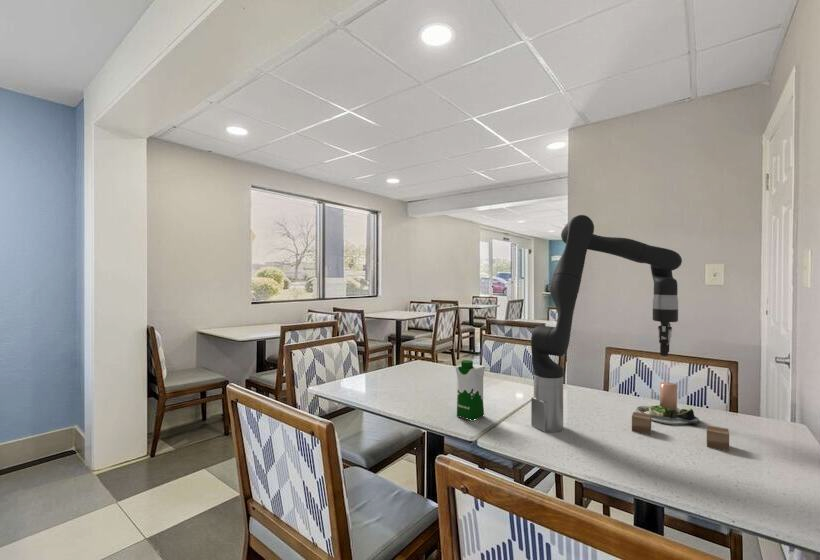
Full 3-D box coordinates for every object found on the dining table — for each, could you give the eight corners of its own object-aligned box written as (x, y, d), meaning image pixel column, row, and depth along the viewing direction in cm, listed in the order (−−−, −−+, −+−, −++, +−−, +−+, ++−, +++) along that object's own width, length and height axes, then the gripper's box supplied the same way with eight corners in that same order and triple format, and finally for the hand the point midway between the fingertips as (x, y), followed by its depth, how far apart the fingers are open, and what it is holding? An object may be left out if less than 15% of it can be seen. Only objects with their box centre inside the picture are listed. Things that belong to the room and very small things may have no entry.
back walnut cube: (650, 435, 122) (650, 419, 122) (631, 431, 125) (631, 416, 125) (651, 430, 126) (651, 414, 126) (633, 426, 129) (633, 411, 129)
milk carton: (453, 416, 138) (452, 360, 138) (467, 410, 145) (467, 356, 145) (473, 423, 132) (473, 364, 132) (488, 415, 139) (487, 360, 139)
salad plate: (651, 428, 128) (651, 414, 128) (622, 409, 146) (622, 397, 146) (710, 428, 128) (710, 414, 128) (674, 409, 146) (674, 397, 146)
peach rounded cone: (670, 409, 134) (670, 386, 134) (656, 405, 139) (656, 382, 139) (680, 407, 136) (680, 385, 136) (666, 403, 141) (666, 381, 141)
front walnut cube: (729, 451, 110) (729, 434, 110) (707, 447, 113) (707, 430, 113) (727, 445, 114) (727, 428, 114) (706, 441, 117) (706, 425, 117)
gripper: (677, 309, 129) (677, 358, 129) (678, 307, 140) (678, 352, 140) (650, 308, 133) (650, 355, 133) (654, 306, 145) (653, 349, 145)
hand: (664, 353), depth 137 cm, fingers open, 8 cm apart
